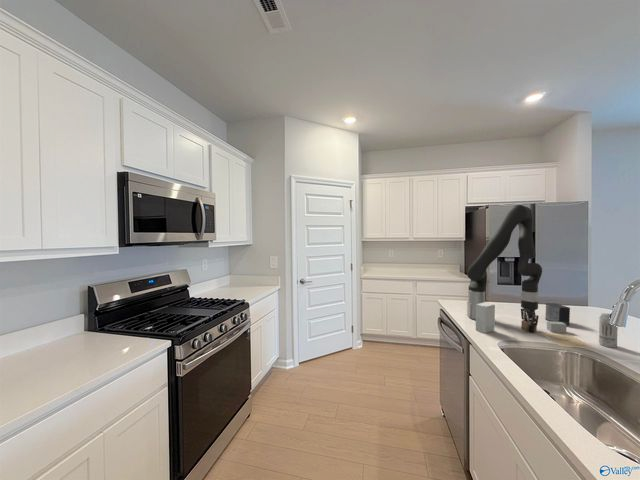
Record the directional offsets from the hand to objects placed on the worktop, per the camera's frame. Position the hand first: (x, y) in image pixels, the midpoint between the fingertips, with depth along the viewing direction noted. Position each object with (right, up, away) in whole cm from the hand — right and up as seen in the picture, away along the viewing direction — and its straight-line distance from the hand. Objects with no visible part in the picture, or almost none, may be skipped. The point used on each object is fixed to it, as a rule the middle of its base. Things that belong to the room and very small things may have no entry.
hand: (528, 330), depth 152 cm
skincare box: (-23, -1, +1) cm, 23 cm away
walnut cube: (0, 0, 0) cm, 0 cm away
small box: (+28, 0, +14) cm, 31 cm away
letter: (+8, -1, -13) cm, 15 cm away
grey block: (+14, -1, -1) cm, 14 cm away
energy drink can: (+22, -1, -20) cm, 30 cm away
